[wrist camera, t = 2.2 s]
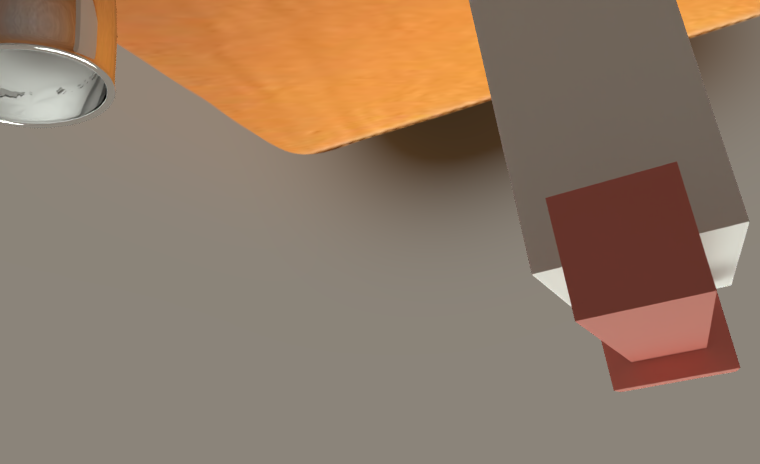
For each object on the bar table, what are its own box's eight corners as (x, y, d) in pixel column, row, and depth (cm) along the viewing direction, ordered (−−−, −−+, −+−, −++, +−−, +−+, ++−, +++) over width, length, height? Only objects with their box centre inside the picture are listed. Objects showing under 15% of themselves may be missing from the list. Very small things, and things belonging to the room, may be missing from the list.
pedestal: (406, -272, 33) (531, 274, 25) (558, -354, 30) (749, 221, 23) (482, -94, 44) (584, 317, 36) (596, -143, 42) (731, 285, 34)
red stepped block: (504, 209, 17) (541, 374, 16) (725, 148, 16) (784, 326, 15) (599, 307, 34) (620, 392, 33) (709, 283, 33) (736, 371, 31)
